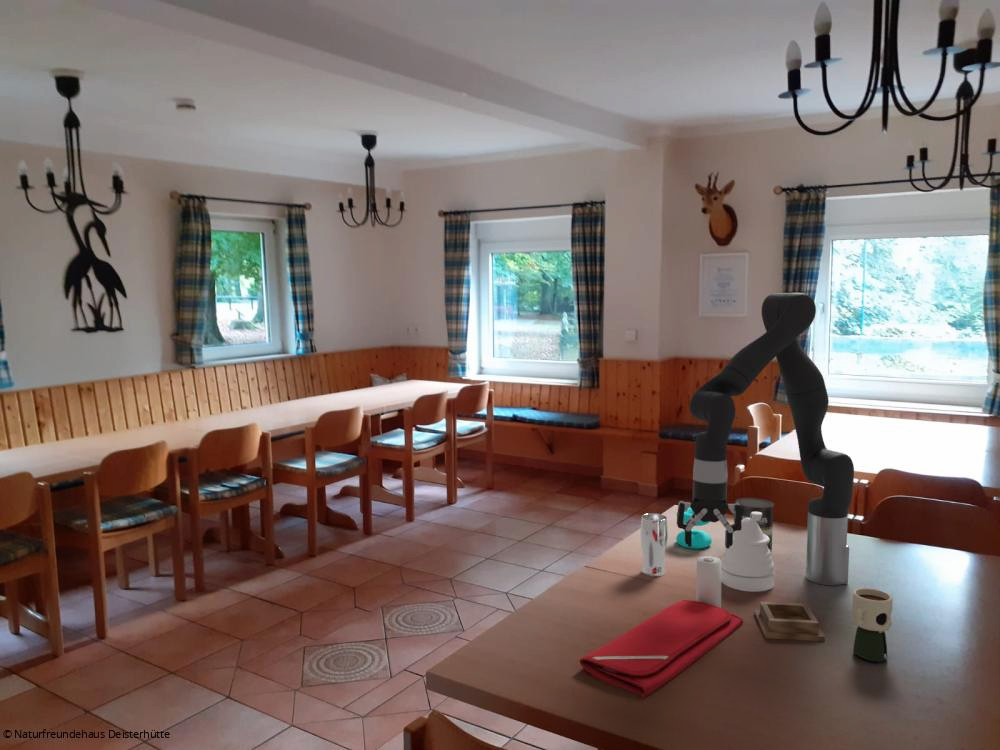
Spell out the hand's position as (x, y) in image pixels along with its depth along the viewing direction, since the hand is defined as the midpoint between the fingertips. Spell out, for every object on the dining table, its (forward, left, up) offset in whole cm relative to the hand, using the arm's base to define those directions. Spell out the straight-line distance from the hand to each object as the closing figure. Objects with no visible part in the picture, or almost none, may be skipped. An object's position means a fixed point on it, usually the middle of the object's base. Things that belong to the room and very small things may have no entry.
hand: (708, 546), depth 174 cm
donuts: (-2, -45, -15) cm, 47 cm away
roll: (-1, -1, -15) cm, 15 cm away
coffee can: (-18, -41, -15) cm, 47 cm away
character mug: (-29, +21, -15) cm, 39 cm away
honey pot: (-12, -17, -15) cm, 26 cm away
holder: (-16, +9, -15) cm, 23 cm away
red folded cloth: (+11, +21, -15) cm, 28 cm away
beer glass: (+11, -21, -15) cm, 28 cm away
